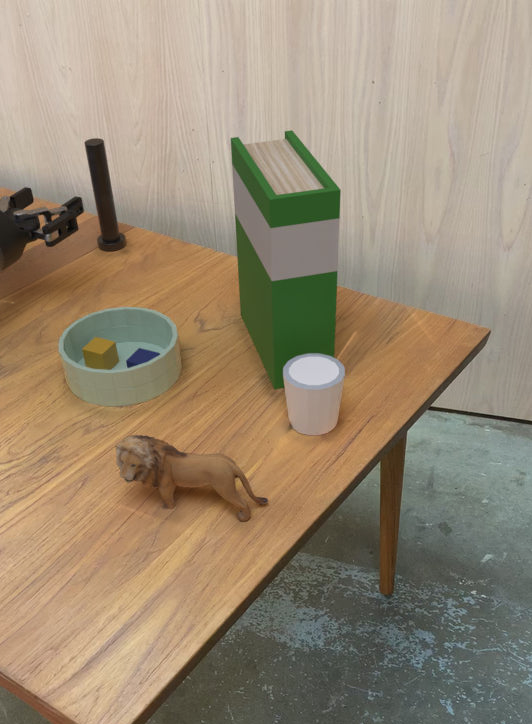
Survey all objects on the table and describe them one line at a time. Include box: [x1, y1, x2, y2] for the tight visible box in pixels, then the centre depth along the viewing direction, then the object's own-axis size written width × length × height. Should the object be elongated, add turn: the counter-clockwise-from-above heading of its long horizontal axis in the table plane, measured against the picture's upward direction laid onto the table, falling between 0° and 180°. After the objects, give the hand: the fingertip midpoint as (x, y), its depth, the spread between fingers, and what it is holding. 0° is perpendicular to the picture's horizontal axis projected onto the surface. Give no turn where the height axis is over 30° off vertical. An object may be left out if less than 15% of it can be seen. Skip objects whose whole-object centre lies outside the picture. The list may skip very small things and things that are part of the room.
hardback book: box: [230, 129, 342, 390], centre depth 92 cm, size 18×7×24 cm, turn 15°
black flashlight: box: [84, 137, 127, 252], centre depth 118 cm, size 4×4×16 cm
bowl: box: [58, 306, 183, 408], centre depth 96 cm, size 14×14×6 cm
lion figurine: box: [114, 434, 269, 522], centre depth 77 cm, size 15×5×9 cm, turn 90°
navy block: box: [126, 348, 160, 368], centre depth 95 cm, size 3×3×3 cm
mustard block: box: [82, 337, 119, 370], centre depth 97 cm, size 3×3×3 cm
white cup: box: [283, 353, 346, 436], centre depth 88 cm, size 7×7×7 cm
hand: (55, 198), depth 108 cm, fingers open, 8 cm apart
